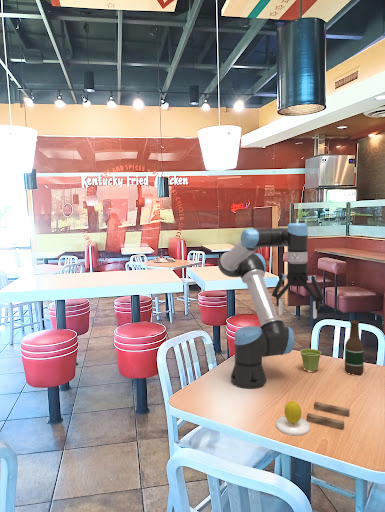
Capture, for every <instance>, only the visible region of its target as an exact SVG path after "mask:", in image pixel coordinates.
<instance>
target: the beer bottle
mask: <svg viewBox="0 0 385 512" xmlns="http://www.w3.org/2000/svg"><path fill="white" fill-rule="evenodd" d="M349 324H350V330H349V336H348V339H347V340H346V343H345V346H344V372H345V371H346V372H348V373H350V374H354V375H358V376H362V375H363V374H364V360H365V359H364V354H365V353H364V351H365V349H364V344H363V341H362V340H361V338H360V327H359V324H360V322H359V320H356V319H353V320H350V323H349ZM346 372H345V373H346ZM362 373H363V374H362ZM361 374H362V375H361ZM354 375H353V376H354Z"/></svg>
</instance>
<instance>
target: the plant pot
mask: <svg viewBox="0 0 385 512" xmlns="http://www.w3.org/2000/svg"><path fill="white" fill-rule="evenodd" d="M299 353H300V355H301V359H302V366H303V369H304V368H305V369H306V370H310V371H315V370H317V369H318V370H319V361H320V357H321V355H322V351H320V350H318V349H315V348H313V349H312V348H303V349H300V350H299ZM315 372H316V371H315Z"/></svg>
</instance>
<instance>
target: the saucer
mask: <svg viewBox="0 0 385 512" xmlns="http://www.w3.org/2000/svg"><path fill="white" fill-rule="evenodd" d="M275 427H276V429H277V430H278V431H279V432H281V433H283V434H285V435H288V436H304V435H306V434H308V433H309V432H310V429H311V425H310V422H308V421H307V419H305V418H303V417H301V418H300V420H299V421H298V422H296V423H294V424H292V423H291V422H289V421H288V420H287V419H286V417H285V415H284V416H281V417H279V418H277V420H276V421H275Z"/></svg>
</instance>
